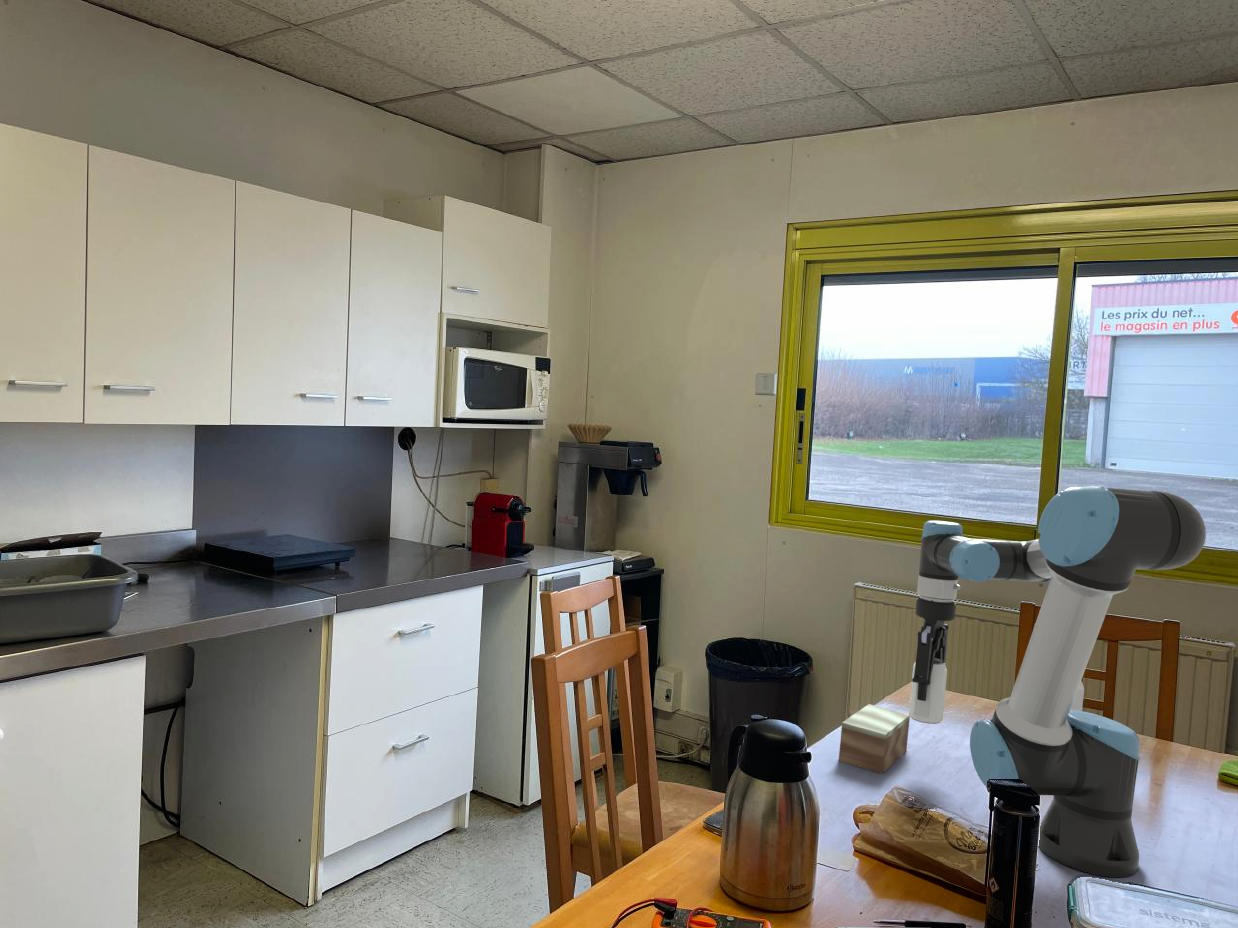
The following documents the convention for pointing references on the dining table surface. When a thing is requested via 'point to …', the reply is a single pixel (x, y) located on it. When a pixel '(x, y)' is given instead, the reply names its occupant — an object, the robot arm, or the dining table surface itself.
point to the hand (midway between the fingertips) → (926, 711)
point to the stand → (874, 738)
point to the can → (932, 694)
